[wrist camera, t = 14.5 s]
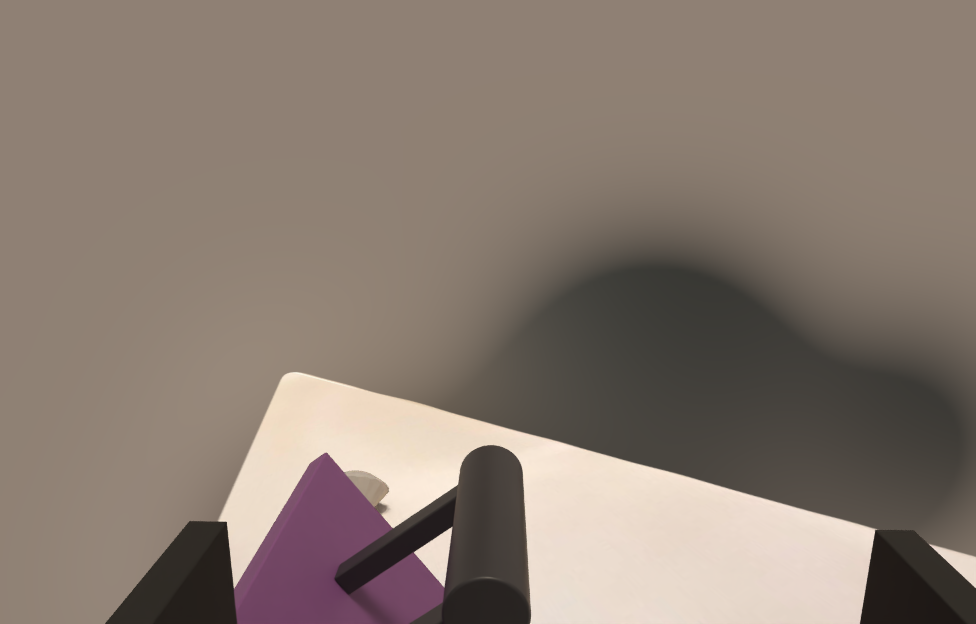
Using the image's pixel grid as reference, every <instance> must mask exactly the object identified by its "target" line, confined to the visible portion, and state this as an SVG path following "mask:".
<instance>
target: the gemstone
mask: <svg viewBox="0 0 976 624" xmlns="http://www.w3.org/2000/svg"><path fill="white" fill-rule="evenodd" d="M344 473H345V474H346V475H347V476H348V478H349V479H350V480H351V481H352V482H353V483H354V485H355V486H356V487H357V488H358V489H359V490H360V491H361V493H362V494H363V495H364V496H365V497H366V498H367V499H368V501H369V502H370V503H371V504H372V505H373V506H374V507H375V506H376V505H377V504H378V503H379V502H380V501H381V500H382V499H383V498H384V497H385V495H386V494H387V493H388V492H389V488H388V486H387V485H386V484H385V483H384V482H383V481H381V480H380V479H378V478H377V477H375V476H374V475H372V474H370V473H367V472H364V471H348V472H344Z"/></svg>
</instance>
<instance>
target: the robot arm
mask: <svg viewBox="0 0 976 624" xmlns="http://www.w3.org/2000/svg"><path fill="white" fill-rule="evenodd" d="M105 624H237V616H236V606H235V596H234V587H233V577H232V568H231V558H230V549H229V539H228V530H227V522H203V521H190V522H189V523H188V524H187V525H186V526H185V527H184V529H183V530H182V531H181V532H180V533H179V535H178V536H177V537H176V538H175V540H174V541H173V542H172V543H171V544H170V546H169V547H168V548H167V549H166V550H165V552H164V553H163V554H162V555H161V557H160V558H159V559H158V560H157V562H156V563H155V564H154V565H153V566H152V568H151V569H150V570H149V571H148V573H146V575H145V576H144V577H143V578H142V580H141V581H140V582H139V583H138V584H137V586H136V587H135V588H134V589H133V591H132V592H131V593H130V594H129V595H128V597H127V598H126V599H125V600H124V601H123V603H122V604H121V605H120V606H119V608H118V609H117V610H116V611H115V612H114V614H113V615H112V616H111V617H110V618H109V620H108V621H107V622H106V623H105ZM860 624H976V588H975V587H974V586H973V585H972V584H971V583H969V582H968V581H967V580H966V579H965V578H964V577H963V576H962V575H961V574H960V573H959V572H958V571H957V570H956V569H955V568H953V567H952V566H951V565H950V564H949V563H948V562H947V561H946V560H945V559H944V558H943V557H942V556H941V555H940V554H938V553H937V552H936V551H935V550H934V549H933V548H932V547H931V546H930V545H929V544H928V543H927V542H926V541H925V540H923V539H922V538H921V537H920V536H919V535H918V534H917V533H916V532H915V531H913V530H912V531H911V530H910V531H909V530H908V531H907V530H905V531H904V530H875V535H874V541H873V547H872V553H871V560H870V566H869V572H868V578H867V584H866V590H865V596H864V602H863V608H862V614H861V620H860Z"/></svg>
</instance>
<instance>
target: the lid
mask: <svg viewBox="0 0 976 624" xmlns="http://www.w3.org/2000/svg"><path fill="white" fill-rule="evenodd" d="M452 526H453V528H452V536H451V543H450V551H449V558H448V566H447V573H446V581H445V588H444V587H443V586H442V585H441V583H440V582H439V581H438V580H437V579H436V578H435V577H434V575H433V574H432V573H431V572H430V571H429V570H428V568H427V567H426V566H425V565H424V564H423V563H422V562H421V560H420V559H419V558H418V557H417V556H416V555H415V554H414V552H415V551H416V550H418V549H419V548H421V547H422V546H424V545H425V544H427V543H428V542H430V541H431V540H433V539H434V538H436V537H437V536H439V535H440V534H442V533H443V532H445V531H446V530H448V529H449V528H451V527H452ZM234 596H235V606H236V616H237V624H530V621H531V606H530V589H529V572H528V555H527V538H526V521H525V504H524V487H523V471H522V466H521V464H520V462H519V460H518V459H517V457H516V456H515V455H514V454H513V453H512V452H510V451H509V450H507V449H505V448H503V447H500V446H494V445H487V446H482V447H479V448H477V449H475V450H473V451H472V452H470V453H469V454H468V455H467V456H466V458H465V459H464V461H463V462H462V465H461V468H460V475H459V483H458V485H457V486H456V487H454V488H453V489H451V490H450V491H448V492H447V493H445V494H444V495H442V496H441V497H439V498H438V499H436V500H435V501H433V502H432V503H430V504H429V505H427V506H426V507H425V508H423V509H422V510H420V511H419V512H417V513H416V514H414V515H413V516H411V517H410V518H408V519H407V520H405V521H404V522H402V523H401V524H399V525H398V526H396V527H395V528H392V527H391V526H390V525H389V524H388V522H387V521H386V520H385V519H384V518H383V517H382V516H381V514H380V513H379V512H378V511H377V510H376V509H375V508H374V506H373V505H372V504H371V503H370V502H369V501H368V499H367V498H366V497H365V496H364V495H363V494H362V493H361V491H360V490H359V489H358V488H357V487H356V486H355V485H354V483H353V482H352V481H351V480H350V479H349V478H348V476H347V475H346V474H345V473H344V472H343V471H342V470H341V468H340V467H339V466H338V465H337V464H336V463H335V462H334V460H333V459H332V458H331V457H330V456H329V455H328V453H324V454H323V455H321V456H320V457H318V458H317V459H316V460H314V461H313V462H311V463H310V464H309V466H308V468H307V469H306V471H305V473H304V474H303V476H302V478H301V479H300V481H299V483H298V484H297V486H296V488H295V489H294V491H293V493H292V494H291V496H290V498H289V499H288V501H287V503H286V504H285V506H284V508H283V509H282V511H281V513H280V514H279V516H278V517H277V519H276V521H275V522H274V524H273V526H272V527H271V529H270V531H269V532H268V534H267V536H266V537H265V539H264V541H263V542H262V544H261V546H260V547H259V549H258V551H257V552H256V554H255V556H254V557H253V559H252V561H251V562H250V564H249V565H248V567H247V569H246V570H245V572H244V574H243V575H242V577H241V579H240V580H239V582H238V584H237V585H236V587H235V589H234Z"/></svg>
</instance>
